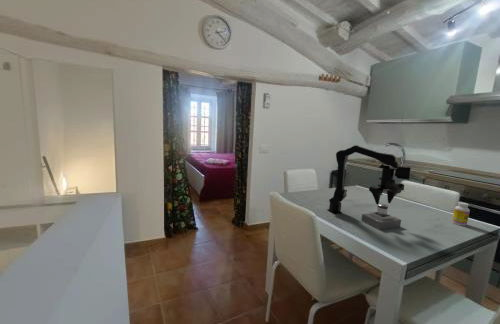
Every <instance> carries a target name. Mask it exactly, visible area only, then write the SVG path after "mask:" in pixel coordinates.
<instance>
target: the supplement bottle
mask: <svg viewBox="0 0 500 324" xmlns="http://www.w3.org/2000/svg"><path fill="white" fill-rule="evenodd" d="M469 205H470V204H469V203H466V202H461V201H458V202H457V205H456V206H454V210H453V215H452V220H451V222H452V223H453V224H455V225H458V226H463V227H464V226H465V227H466V226H467V225H468V221H469V217H470V212H471V210H470V209H469V208H468V207H469Z"/></svg>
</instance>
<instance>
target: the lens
mask: <svg viewBox="0 0 500 324" xmlns="http://www.w3.org/2000/svg"><path fill="white" fill-rule="evenodd" d="M388 209H389V205H387V204H384V203H379V204H377V209H376V212H377V215H379V216H381V217H387V214H388Z"/></svg>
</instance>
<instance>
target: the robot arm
mask: <svg viewBox="0 0 500 324" xmlns="http://www.w3.org/2000/svg"><path fill="white" fill-rule="evenodd" d="M352 154H360V155H363V156H366V157H370V158H372V159H375V160H377V161H379V162H380V163H381V165H379V166H378V169H381V176H380V177H378V180H380V183H379V184H377V185H378V186H377V185H370V186H369V187H368V191H369V192H370V193H371V194H372V197H373V198H374V202H375V204H376V205H378V204H380V198H381V197H382V195H383V192H385V191H386V194H387V196H386V197H387V203H388V204H391V203H392V201H393V199H394V197H395V196H396V195H398V194H401V193H402V192H403V191H404V190H405V184H404V183H396V180H395V179H394V177H395V178H396V179H401V180H406V181H410V178H411V169H412V167H411V166H400V164H399V163H398V162H397V156H395V155H394V154H392V153H386V152H385V153H384V152H379V151H375V150H372V149H368V148H366V147H362V146H360V145H357V144H356V145H353V146H351V147H349V148H346V149H342V150H338V151H337V152H336V153H335V158H336V163H337V171H336V172H337V173H336V174H337V175H336V187H335V189H334V192H333V197H331V198H330V199H329V208H328V209H326V210H327V211H328V212H330V213H332V214H342V213H343V211H341V210H342V201H343V200H345V199H346V197H347V196H348V194H347V193H348V192H347V191H348V190H347V189H345V177H346V176H345V175H346V174H345V173H346V164H347V161H348V159H349V156H351V155H352Z"/></svg>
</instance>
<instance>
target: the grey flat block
mask: <svg viewBox="0 0 500 324" xmlns="http://www.w3.org/2000/svg"><path fill="white" fill-rule="evenodd" d="M361 221H362V222H363V223H365V224H367V225H369V226H371V227H373V228H375V229H377V230H386V229H392V228H393V229H394V228H399V227H401V222H402V219H400V218H397V217H396V216H393V215H392V214H388V213H387V217H381V216H379V215H377V211H371V212H369V213H361Z"/></svg>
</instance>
